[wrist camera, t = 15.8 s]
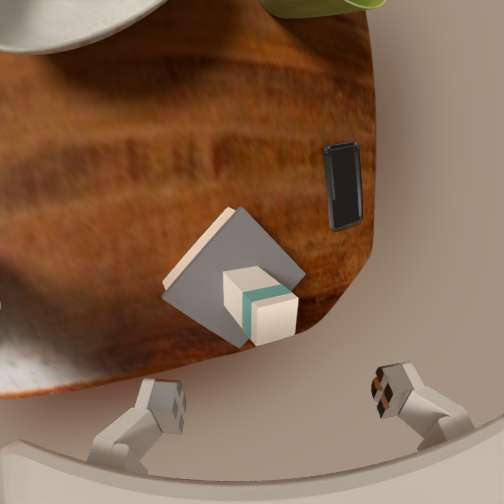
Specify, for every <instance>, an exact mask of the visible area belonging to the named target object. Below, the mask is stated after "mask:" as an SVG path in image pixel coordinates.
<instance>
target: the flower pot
mask: <svg viewBox="0 0 504 504" xmlns="http://www.w3.org/2000/svg"><path fill="white" fill-rule="evenodd" d="M385 1H386V0H260V2H261V4H262V6H263V7H264V8H265V9H266V10H267V11H268V12H269V13H270V14H272V15H274V16H276V17H279V18H283V19H292V18H312V17H322V16H330V15H338V14H345V13H351V12H357V11H363V10H369V9H375V8H378V7H380V6H382V5H383V4H384V2H385Z"/></svg>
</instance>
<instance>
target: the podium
mask: <svg viewBox="0 0 504 504" xmlns="http://www.w3.org/2000/svg"><path fill="white" fill-rule="evenodd" d="M254 266H259V267H260V268H261V269H262V270H264V271H265V272H266V273H267V274H269V275H270V276H271V277H272V278H274V279H275V280H276V281H278V282H279V283H280V284H282V285H284V286H285V287H286V288H287V289H289V290H290V291H292V290H293V289H294V287H295V286H296V285H297V284H298V283H299V282H300V280H301V279H302V278H303V277H304V276H305V275H306V274H305V273H304V272H303V270H302V269H301V268H300V267H299V266H298V265H297V264H296V263H295V262H294V261H293V260H292V259H291V258H290V257H289V256H288V254H287V253H286V252H285V251H284V250H283V249H282V248H281V247H280V246H279V245H278V244H277V243H276V242H275V241H274V240H273V239H272V238H271V237H270V235H269V234H268V233H267V232H266V231H265V230H264V229H263V228H262V227H261V226H260V225H259V224H258V223H257V222H256V221H255V220H254V219H253V218H252V217H251V216H250V215H249V214H248V213H247V211H246V210H245V209H244V208H243V207H241V206H240V207H239V208H238V209H237V210H236V211H235V210H233V209H231V208H229V207H227V208H226V209H225V211H224V212H223V213H222V214H221V215H220V216H219V217H218V218H217V219H216V221H215V222H214V223H213V224H212V225H211V226H210V227H209V228H208V229H207V231H206V232H205V233H204V234H203V235H202V236H201V237H200V238H199V240H198V241H197V242H196V243H195V244H194V245H193V246H192V248H191V249H190V250H189V251H188V252H187V253H186V254H185V256H184V257H183V258H182V259H181V260H180V261H179V263H178V264H177V265H176V266H175V267H174V268H173V270H172V271H171V272H170V273H169V274H168V275H167V277H166V278H165V279H164V280H163V281H162V282H163V285H164V287H165V290H166V291H165V292H164V293H163V294H162V299H164V300H165V301H167V302H168V303H169V304H171V305H172V306H174V307H175V308H177V309H178V310H180V311H181V312H183V313H184V314H186V315H187V316H189V317H190V318H192V319H193V320H195V321H197V322H198V323H200V324H201V325H203V326H204V327H206V328H207V329H209V330H211V331H212V332H214V333H215V334H217V335H219V336H220V337H222V338H223V339H225V340H227V341H228V342H230V343H232V344H233V345H235V346H237V347H238V348H241V347H242V345H243V344H244V343H245V342H246V341H247V340H248V339H249V338H248V336H247V335H246V334H245V332H244V331H243V330H242V328H241V326H240V325H239V324H238V323H237V321H236V320H235V319H234V318H233V316H232V315H231V314H230V312H229V311H228V310H227V309H226V307H225V306H224V289H223V272H224V271H230V270H236V269H242V268H248V267H254Z"/></svg>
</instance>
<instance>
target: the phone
mask: <svg viewBox="0 0 504 504" xmlns="http://www.w3.org/2000/svg"><path fill="white" fill-rule="evenodd" d="M323 157H324V166H325V176H326V187H327V199H328V212H329V226H330V229H331V230H333V231H339V230H342V229H345V228H348V227H350V226H353V225H356V224H358V223H360V222H361V221H362V219H363V198H362V179H361V165H360V152H359V146H358V144H357V143H356V142H348V143H341V144H334V145H327V146H326V147H325V148H324V150H323Z"/></svg>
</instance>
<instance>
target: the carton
mask: <svg viewBox="0 0 504 504" xmlns="http://www.w3.org/2000/svg"><path fill="white" fill-rule="evenodd" d="M223 289H224V306H225V307H226V309H227V310H228V311H229V312H230V314H231V315H232V316H233V318H234V319H235V320H236V321H237V323H238V324H239V325H240V326H241V328H242V330H243V331H244V332H245V334H246V335H247V336H248V338H249V339H250V340H252V342H253V343H254V344H255V345H256V346H259V345H263V344H266V343H270V342H273V341H277V340H280V339H283V338H287V337H290V336H293V335H295V328H296V318H297V309H298V299H299V298H298V297H297V296H295V295H294V294H293V292H291V291H290V290H289V289H287V288H286V287H285V286H284V285H282V284H280V283H279V282H278V281H276V280H275V279H274V278H272V277H271V276H270V275H269V274H267V273H266V272H265V271H264V270H262V269H261V268H260V267H259V266H254V267H248V268H242V269H236V270H230V271H224V272H223Z"/></svg>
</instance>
